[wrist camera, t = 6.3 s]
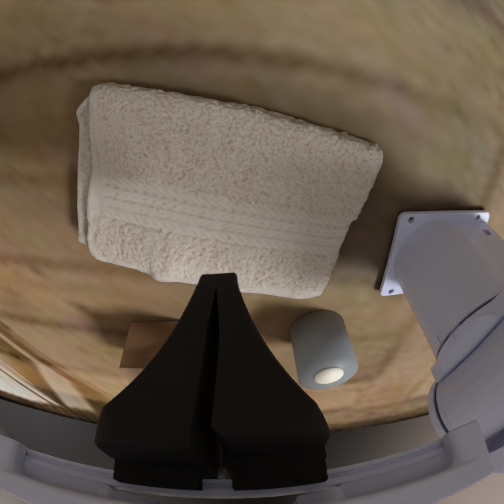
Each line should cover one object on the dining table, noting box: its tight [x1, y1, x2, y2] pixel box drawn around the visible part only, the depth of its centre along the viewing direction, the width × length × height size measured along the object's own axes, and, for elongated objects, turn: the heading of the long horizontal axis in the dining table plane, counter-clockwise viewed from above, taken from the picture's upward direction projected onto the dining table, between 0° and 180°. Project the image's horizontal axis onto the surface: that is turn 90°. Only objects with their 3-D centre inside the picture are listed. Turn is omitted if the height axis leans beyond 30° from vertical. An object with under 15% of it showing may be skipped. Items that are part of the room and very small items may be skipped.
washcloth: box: [76, 82, 383, 299], centre depth 18 cm, size 12×18×3 cm, turn 76°
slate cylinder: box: [290, 310, 358, 389], centre depth 25 cm, size 5×5×5 cm
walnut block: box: [120, 321, 178, 383], centre depth 25 cm, size 5×5×5 cm
